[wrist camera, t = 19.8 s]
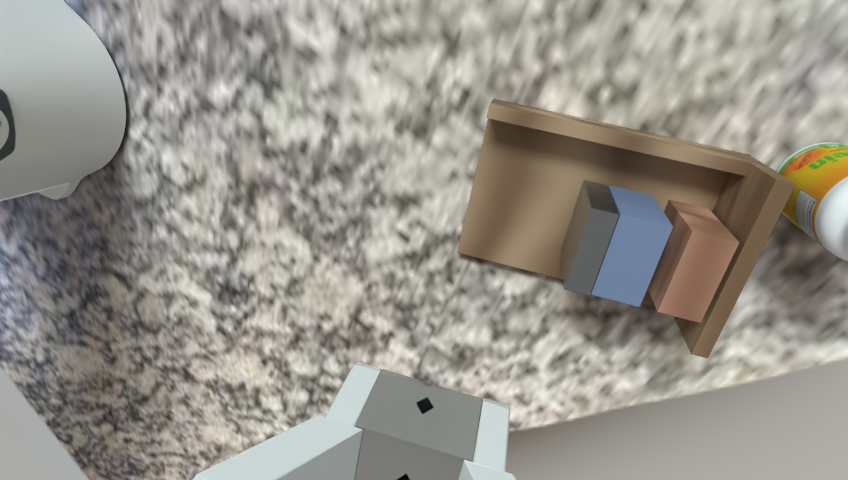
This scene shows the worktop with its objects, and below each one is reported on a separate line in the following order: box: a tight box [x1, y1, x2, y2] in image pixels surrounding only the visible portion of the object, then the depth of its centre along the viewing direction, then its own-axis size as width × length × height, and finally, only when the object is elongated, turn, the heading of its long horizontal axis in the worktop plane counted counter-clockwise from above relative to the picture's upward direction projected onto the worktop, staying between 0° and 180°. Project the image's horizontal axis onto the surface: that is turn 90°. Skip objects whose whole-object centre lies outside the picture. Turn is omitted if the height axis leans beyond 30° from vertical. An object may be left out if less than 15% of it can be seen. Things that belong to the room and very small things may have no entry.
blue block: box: [591, 185, 673, 307], centre depth 34 cm, size 3×6×6 cm, turn 169°
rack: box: [457, 99, 796, 358], centre depth 34 cm, size 17×12×7 cm
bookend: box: [561, 180, 619, 295], centre depth 34 cm, size 2×6×6 cm, turn 169°
